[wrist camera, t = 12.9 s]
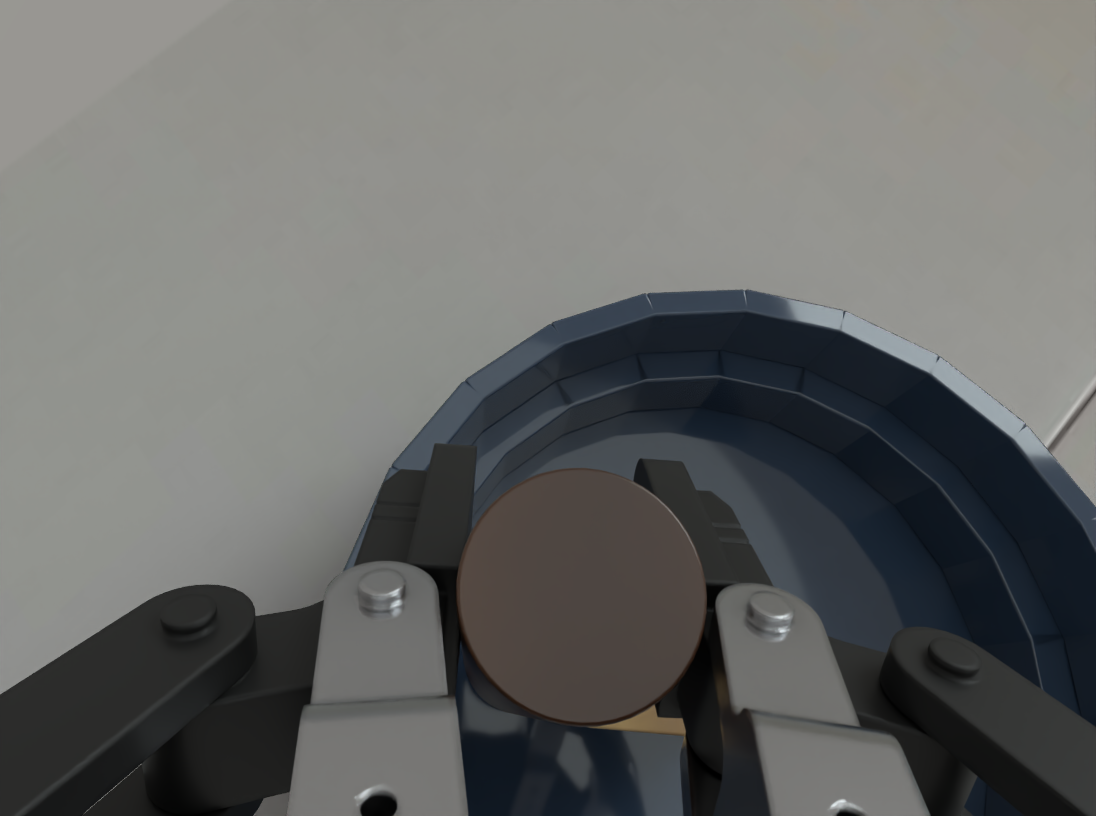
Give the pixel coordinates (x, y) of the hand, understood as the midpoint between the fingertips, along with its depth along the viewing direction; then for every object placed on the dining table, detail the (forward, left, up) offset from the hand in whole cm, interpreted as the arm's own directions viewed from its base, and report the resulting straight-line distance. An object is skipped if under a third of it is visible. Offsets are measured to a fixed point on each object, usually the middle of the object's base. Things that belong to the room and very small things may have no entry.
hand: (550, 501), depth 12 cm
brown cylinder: (0, -2, -6) cm, 6 cm away
